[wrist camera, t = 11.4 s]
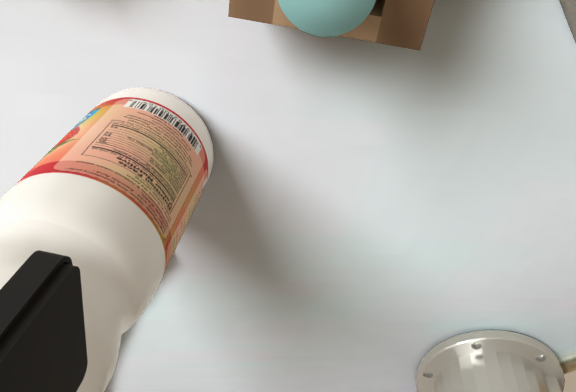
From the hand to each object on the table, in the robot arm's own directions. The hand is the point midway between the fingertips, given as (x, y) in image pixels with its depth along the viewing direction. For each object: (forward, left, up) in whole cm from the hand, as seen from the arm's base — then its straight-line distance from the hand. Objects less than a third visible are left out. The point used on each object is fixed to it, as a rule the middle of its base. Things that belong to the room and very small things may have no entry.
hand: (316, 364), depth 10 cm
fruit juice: (+12, +12, -27) cm, 32 cm away
